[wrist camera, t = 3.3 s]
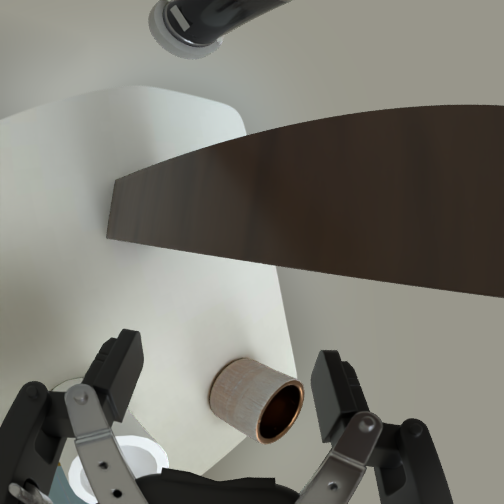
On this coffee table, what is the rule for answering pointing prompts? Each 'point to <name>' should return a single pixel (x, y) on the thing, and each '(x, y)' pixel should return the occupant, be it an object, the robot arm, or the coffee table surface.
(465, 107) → the stand
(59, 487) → the bottle
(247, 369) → the planter
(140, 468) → the mug
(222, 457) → the coffee table surface
